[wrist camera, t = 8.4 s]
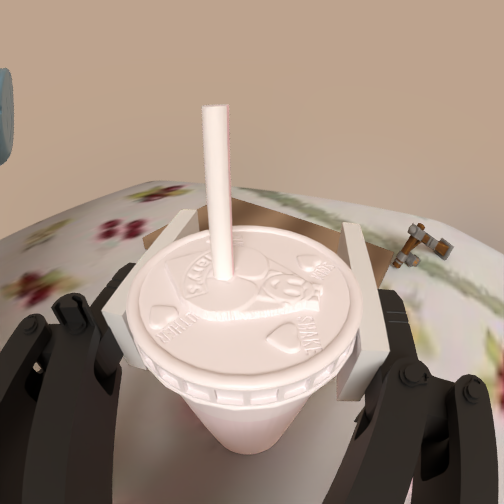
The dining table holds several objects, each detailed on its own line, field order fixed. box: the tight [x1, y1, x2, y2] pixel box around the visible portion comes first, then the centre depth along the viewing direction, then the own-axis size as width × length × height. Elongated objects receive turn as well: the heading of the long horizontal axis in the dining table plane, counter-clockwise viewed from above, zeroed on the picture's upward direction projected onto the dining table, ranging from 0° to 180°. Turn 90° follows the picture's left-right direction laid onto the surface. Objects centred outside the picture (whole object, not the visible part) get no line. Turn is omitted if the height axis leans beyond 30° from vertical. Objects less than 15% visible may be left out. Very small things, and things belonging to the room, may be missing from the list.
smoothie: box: [126, 104, 363, 454], centre depth 9 cm, size 6×6×14 cm
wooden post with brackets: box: [393, 223, 454, 268], centre depth 24 cm, size 2×8×4 cm, turn 107°
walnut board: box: [143, 197, 394, 289], centre depth 25 cm, size 20×12×1 cm, turn 53°
